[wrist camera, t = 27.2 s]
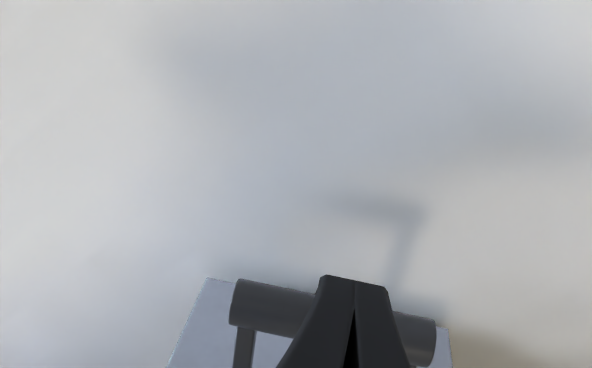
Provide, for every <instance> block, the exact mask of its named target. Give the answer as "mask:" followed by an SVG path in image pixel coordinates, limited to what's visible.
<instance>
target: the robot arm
mask: <svg viewBox="0 0 592 368" xmlns="http://www.w3.org/2000/svg"><path fill="white" fill-rule="evenodd" d="M276 368H411V365H410V363H409V360H408V357H407V355H406V352H405V349H404V346H403V344H402V341H401V338H400V334H399V331H398V328H397V325H396V322H395V319H394V315H393V312H392V308H391V304H390V300H389V296H388V292H387V290H386V289H385V288H384V287H383V286H378V285H374V284H369V283H364V282H359V281H355V280H350V279H345V278H340V277H336V276H331V275H324V276H322V277H320V280H319V285H318V288H317V291H316V294H315V297H314V299H313V302H312V304H311V306H310V309H309V311H308V313H307V315H306V317H305V319H304V321H303V323H302V325H301V326H300V328H299V330H298V332H297V333H296V335H295V337H294V339H293V341H292V342H291V344H290V346H289V348H288V349H287V351H286V353H285V354H284V356H283V357H282V359H281V360H280V362H279V363H278V365H277V366H276Z"/></svg>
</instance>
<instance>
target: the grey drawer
mask: <svg viewBox="0 0 592 368" xmlns="http://www.w3.org/2000/svg"><path fill="white" fill-rule="evenodd" d="M314 297H315V294H310V293H306V292H301V291H296V290H291V289H287V288H282V287H277V286H273V285H268V284H263V283H259V282H254V281H249V280H244V279H239V280H238V281H237V283H236V284H235V283H231V282H226V281H221V280H216V279H212V278H206V280H205V282H204V284H203V287H202V289H201V291H200V293H199V296H198V298H197V300H196V302H195V304H194V307H193V309H192V311H191V313H190V316H189V318H188V320H187V322H186V324H185V327H184V329H183V331H182V333H181V336H180V338H179V340H178V342H177V345H176V347H175V349H174V351H173V353H172V356H171V358H170V360H169V362H168V365H167V367H166V368H276V366H277V365H278V363H279V362H280V360H281V359H282V357H283V356H284V354H285V353H286V351H287V349H288V348H289V346H290V344H291V342H292V341H293V339H294V337H295V335H296V333H297V332H298V330H299V328H300V326H301V325H302V323H303V321H304V319H305V317H306V315H307V313H308V311H309V309H310V306H311V304H312V302H313V299H314ZM392 312H393V315H394V319H395V322H396V325H397V328H398V331H399V334H400V338H401V341H402V344H403V346H404V349H405V352H406V355H407V357H408V360H409V363H410V365H411V368H453V364H452V356H451V348H450V341H449V333H448V329H446V328H441V327H437V326H436V324H435V321H434V320H432V319H428V318H423V317H418V316H414V315H409V314H404V313H400V312H395V311H392Z"/></svg>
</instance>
